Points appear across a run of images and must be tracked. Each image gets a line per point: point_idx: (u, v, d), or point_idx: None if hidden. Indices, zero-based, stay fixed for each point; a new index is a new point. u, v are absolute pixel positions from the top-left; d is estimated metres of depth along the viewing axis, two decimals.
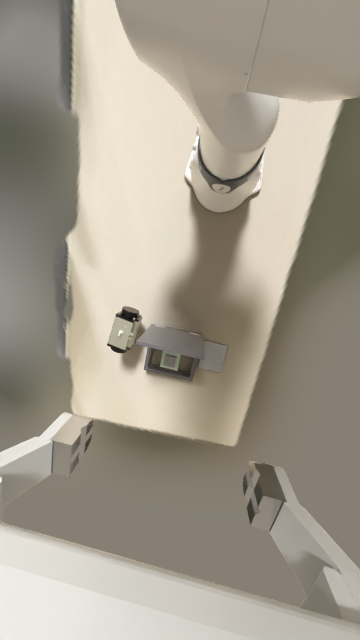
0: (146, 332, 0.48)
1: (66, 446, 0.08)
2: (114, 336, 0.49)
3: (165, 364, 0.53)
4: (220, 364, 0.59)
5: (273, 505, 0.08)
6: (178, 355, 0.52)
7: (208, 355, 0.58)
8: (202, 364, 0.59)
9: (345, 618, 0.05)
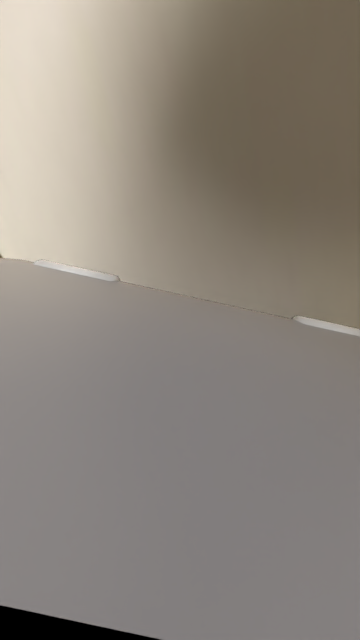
0: None
1: None
2: None
3: None
4: None
5: None
6: None
7: None
8: None
9: None
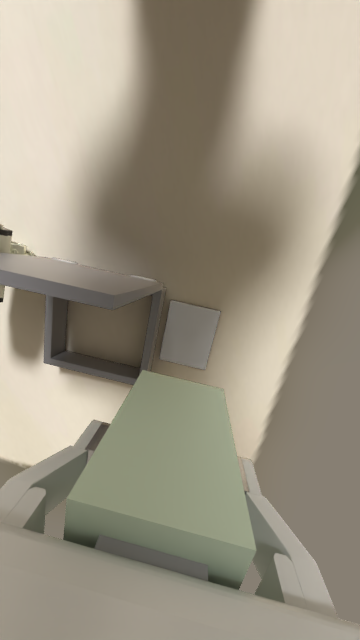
0: None
1: None
2: None
3: None
4: (205, 351, 0.28)
5: None
6: (228, 555, 0.05)
7: (179, 331, 0.28)
8: (168, 351, 0.28)
9: (287, 602, 0.05)
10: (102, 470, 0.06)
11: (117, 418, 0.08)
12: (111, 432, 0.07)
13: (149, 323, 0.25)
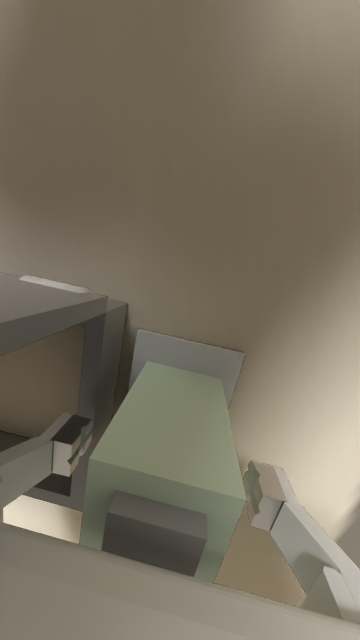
0: None
1: (66, 446, 0.08)
2: None
3: None
4: None
5: (273, 505, 0.08)
6: (223, 505, 0.06)
7: None
8: None
9: (345, 618, 0.05)
10: (116, 439, 0.07)
11: (126, 400, 0.09)
12: (122, 411, 0.08)
13: (83, 387, 0.11)
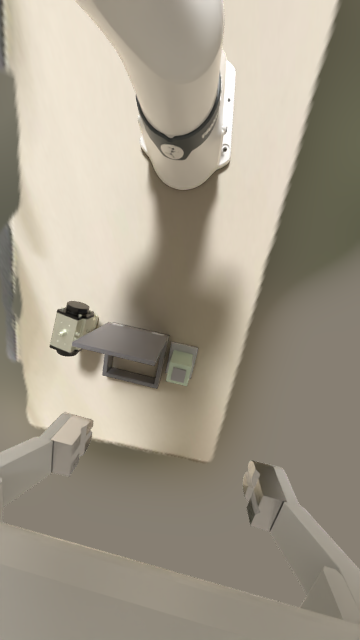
0: (94, 331, 0.40)
1: (66, 446, 0.08)
2: (56, 336, 0.41)
3: (172, 378, 0.44)
4: None
5: (273, 505, 0.08)
6: (188, 368, 0.43)
7: None
8: None
9: (345, 618, 0.05)
10: (172, 360, 0.44)
11: (172, 356, 0.46)
12: (172, 357, 0.46)
13: (161, 355, 0.48)
